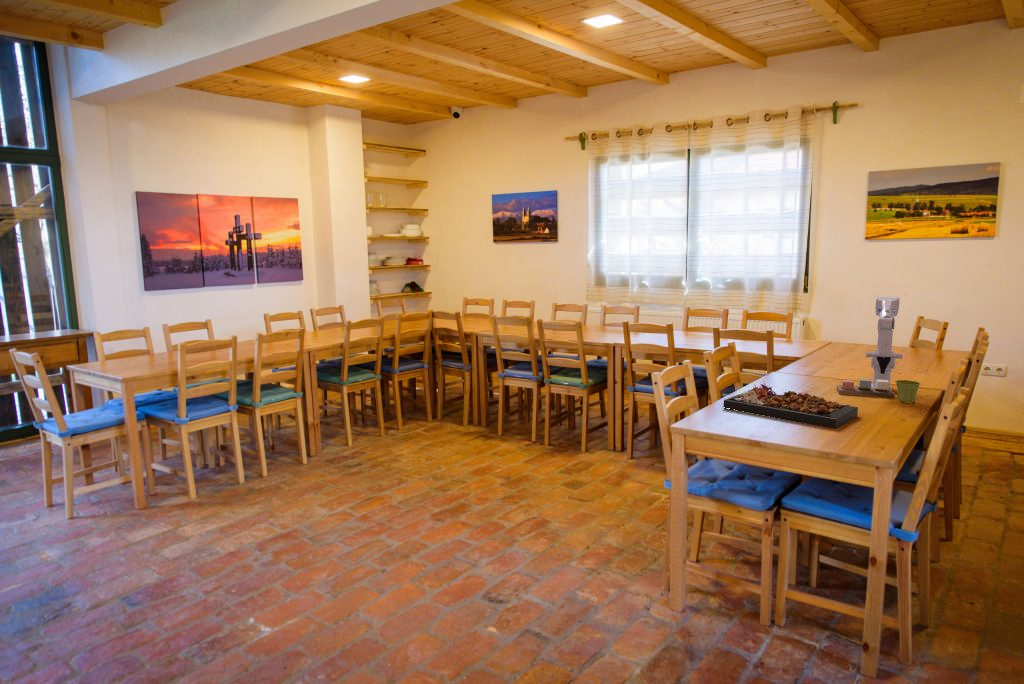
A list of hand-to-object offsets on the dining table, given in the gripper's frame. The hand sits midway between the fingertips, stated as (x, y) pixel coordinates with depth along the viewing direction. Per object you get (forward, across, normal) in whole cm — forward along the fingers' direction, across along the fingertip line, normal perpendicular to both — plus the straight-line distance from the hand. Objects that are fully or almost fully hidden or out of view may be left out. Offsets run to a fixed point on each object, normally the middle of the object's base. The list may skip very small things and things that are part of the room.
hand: (882, 373), depth 290 cm
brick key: (+8, -14, 0) cm, 16 cm away
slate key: (+7, -7, 0) cm, 10 cm away
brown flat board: (+10, -7, 0) cm, 12 cm away
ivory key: (+7, 0, 0) cm, 7 cm away
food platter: (+11, -39, -48) cm, 63 cm away
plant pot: (+10, +8, -11) cm, 17 cm away
